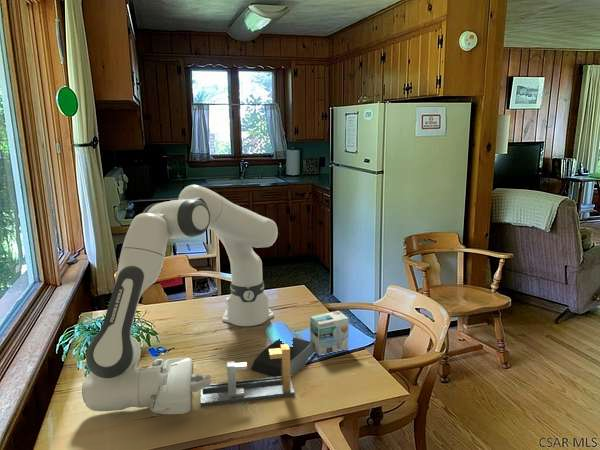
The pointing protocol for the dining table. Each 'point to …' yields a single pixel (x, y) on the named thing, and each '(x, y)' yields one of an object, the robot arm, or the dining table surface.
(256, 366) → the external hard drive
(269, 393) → the sliding rail fixture
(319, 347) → the light bulb box
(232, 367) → the retention clip
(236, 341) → the dining table surface
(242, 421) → the dining table surface
